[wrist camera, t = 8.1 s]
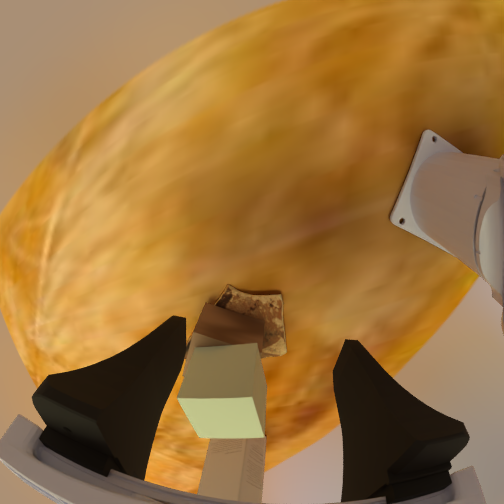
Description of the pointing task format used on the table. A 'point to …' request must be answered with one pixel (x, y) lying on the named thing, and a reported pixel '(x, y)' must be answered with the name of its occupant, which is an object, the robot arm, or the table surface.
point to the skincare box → (234, 469)
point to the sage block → (225, 392)
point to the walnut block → (224, 330)
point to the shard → (257, 317)
